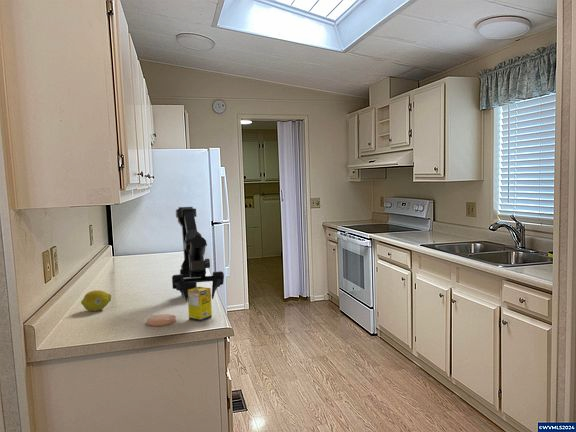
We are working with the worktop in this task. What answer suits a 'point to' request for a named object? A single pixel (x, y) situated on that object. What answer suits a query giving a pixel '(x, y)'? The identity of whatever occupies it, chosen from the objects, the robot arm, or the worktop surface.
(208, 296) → the supplement box
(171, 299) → the worktop surface
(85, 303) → the lemon
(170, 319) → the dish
